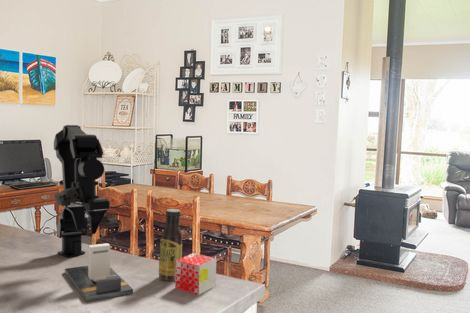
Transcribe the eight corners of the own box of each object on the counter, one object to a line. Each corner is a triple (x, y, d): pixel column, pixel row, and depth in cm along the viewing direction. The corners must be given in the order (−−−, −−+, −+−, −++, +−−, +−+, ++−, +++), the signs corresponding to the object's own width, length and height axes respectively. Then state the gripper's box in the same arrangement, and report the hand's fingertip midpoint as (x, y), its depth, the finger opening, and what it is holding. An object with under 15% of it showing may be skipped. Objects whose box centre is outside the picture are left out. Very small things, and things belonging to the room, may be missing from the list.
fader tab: (88, 279, 128) (88, 245, 128) (107, 276, 131) (107, 242, 130) (90, 282, 126) (91, 247, 125) (110, 279, 129) (110, 245, 128)
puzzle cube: (198, 294, 124) (199, 265, 124) (175, 288, 128) (175, 259, 128) (215, 286, 131) (216, 258, 130) (192, 280, 135) (193, 253, 135)
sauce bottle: (154, 279, 135) (155, 210, 133) (167, 273, 140) (168, 206, 138) (173, 283, 132) (174, 213, 130) (185, 277, 137) (187, 209, 135)
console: (64, 272, 137) (64, 258, 137) (105, 267, 144) (105, 253, 143) (86, 301, 117) (86, 285, 117) (133, 293, 123) (133, 277, 123)
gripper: (44, 178, 139) (45, 231, 139) (72, 180, 125) (73, 240, 125) (80, 176, 146) (81, 227, 146) (110, 178, 133) (111, 234, 133)
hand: (85, 232), depth 137 cm, fingers open, 9 cm apart
